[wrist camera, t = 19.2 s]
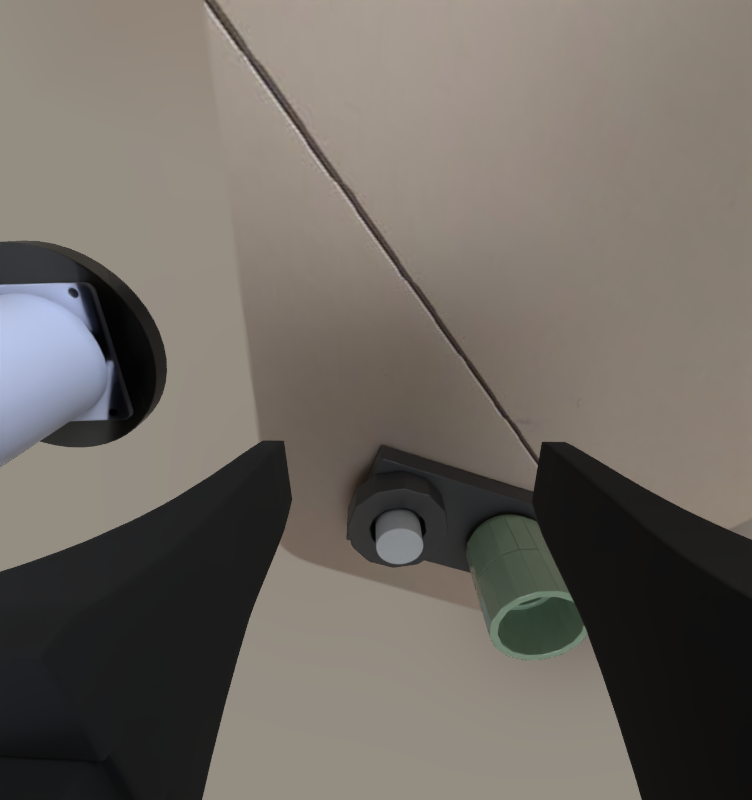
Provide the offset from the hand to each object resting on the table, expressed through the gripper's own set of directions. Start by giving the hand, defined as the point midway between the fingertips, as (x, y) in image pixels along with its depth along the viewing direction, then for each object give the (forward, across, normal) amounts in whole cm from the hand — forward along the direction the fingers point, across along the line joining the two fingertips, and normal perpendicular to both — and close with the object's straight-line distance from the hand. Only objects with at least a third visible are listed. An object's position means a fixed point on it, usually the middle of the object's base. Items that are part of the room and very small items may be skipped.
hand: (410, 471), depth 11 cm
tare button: (+7, 0, +9) cm, 11 cm away
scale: (+10, -4, +10) cm, 15 cm away
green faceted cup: (+9, -6, +11) cm, 15 cm away
